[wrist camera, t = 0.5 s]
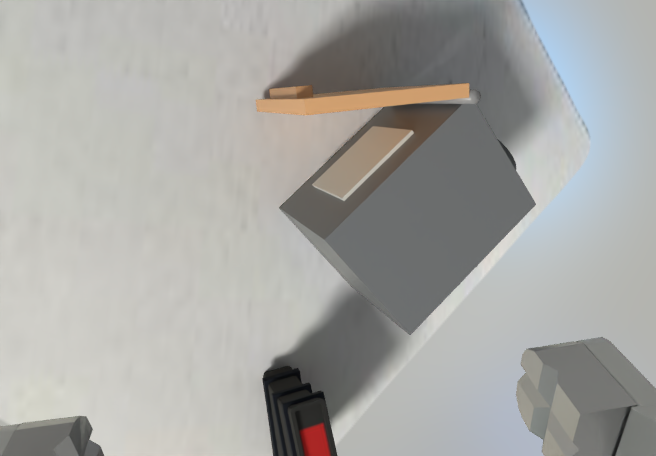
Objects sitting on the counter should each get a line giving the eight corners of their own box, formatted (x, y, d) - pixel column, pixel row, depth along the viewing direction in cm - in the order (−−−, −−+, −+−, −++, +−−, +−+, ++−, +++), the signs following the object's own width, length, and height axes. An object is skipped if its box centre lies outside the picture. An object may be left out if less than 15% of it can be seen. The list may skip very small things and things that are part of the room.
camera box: (277, 205, 47) (321, 237, 36) (404, 83, 48) (483, 78, 38) (351, 286, 52) (410, 335, 41) (463, 173, 54) (548, 191, 43)
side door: (254, 90, 42) (303, 86, 31) (392, 78, 47) (480, 70, 35) (257, 117, 43) (306, 123, 31) (393, 102, 47) (480, 103, 36)
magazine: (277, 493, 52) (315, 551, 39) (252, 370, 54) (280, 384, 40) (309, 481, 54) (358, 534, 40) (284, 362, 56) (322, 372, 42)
